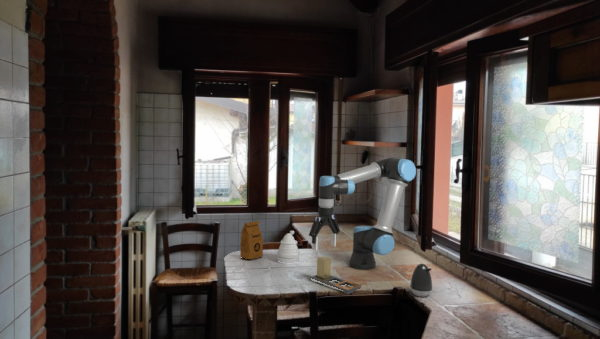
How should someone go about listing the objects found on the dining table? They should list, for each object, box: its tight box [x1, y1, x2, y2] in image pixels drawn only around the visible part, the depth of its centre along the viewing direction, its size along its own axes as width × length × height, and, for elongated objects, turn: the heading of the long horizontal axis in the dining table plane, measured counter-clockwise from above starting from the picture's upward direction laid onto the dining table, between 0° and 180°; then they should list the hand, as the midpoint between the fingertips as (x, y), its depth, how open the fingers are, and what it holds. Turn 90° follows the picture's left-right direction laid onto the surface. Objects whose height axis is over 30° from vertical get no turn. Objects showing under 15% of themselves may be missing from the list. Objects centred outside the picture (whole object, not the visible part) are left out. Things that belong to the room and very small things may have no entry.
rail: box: [310, 274, 362, 295], centre depth 232 cm, size 10×25×2 cm, turn 43°
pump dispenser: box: [409, 263, 433, 298], centre depth 221 cm, size 10×10×15 cm
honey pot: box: [276, 230, 300, 263], centre depth 270 cm, size 13×13×18 cm
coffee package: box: [240, 220, 264, 260], centre depth 274 cm, size 10×12×22 cm
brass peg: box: [316, 255, 332, 280], centre depth 237 cm, size 5×5×12 cm
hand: (324, 247), depth 236 cm, fingers open, 13 cm apart
